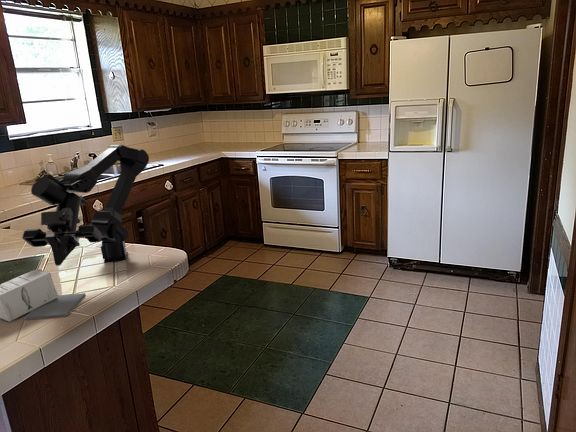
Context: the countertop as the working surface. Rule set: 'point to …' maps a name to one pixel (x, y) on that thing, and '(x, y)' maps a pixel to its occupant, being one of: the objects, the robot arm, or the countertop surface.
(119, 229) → the robot arm
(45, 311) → the rubber mat
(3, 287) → the supplement box
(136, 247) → the countertop surface
